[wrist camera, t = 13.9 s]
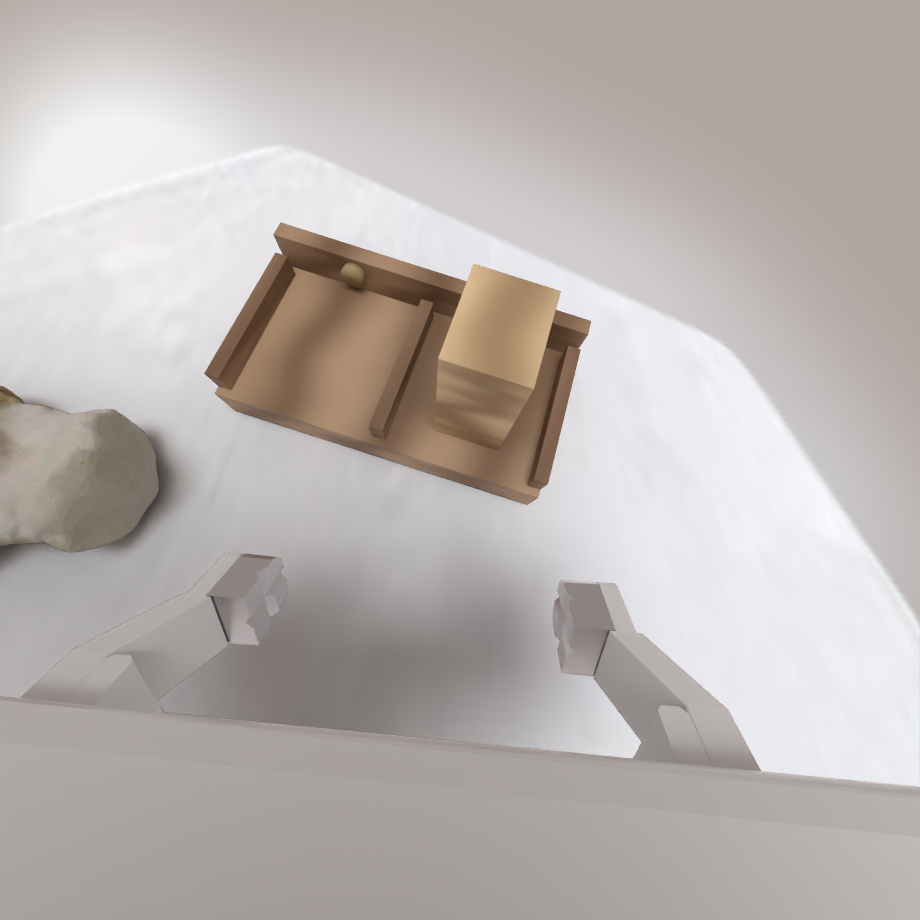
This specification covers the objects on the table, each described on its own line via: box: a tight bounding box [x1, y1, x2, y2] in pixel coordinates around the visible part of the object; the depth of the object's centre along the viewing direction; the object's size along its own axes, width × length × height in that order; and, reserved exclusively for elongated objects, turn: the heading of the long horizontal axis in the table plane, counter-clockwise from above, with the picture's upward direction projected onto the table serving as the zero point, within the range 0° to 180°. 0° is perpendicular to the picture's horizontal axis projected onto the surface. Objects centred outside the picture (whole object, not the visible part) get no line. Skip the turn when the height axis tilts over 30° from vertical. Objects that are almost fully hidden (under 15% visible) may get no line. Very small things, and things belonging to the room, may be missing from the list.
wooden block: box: [435, 264, 561, 451], centre depth 19 cm, size 4×5×8 cm
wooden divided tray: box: [204, 223, 591, 505], centre depth 24 cm, size 20×11×5 cm, turn 73°
